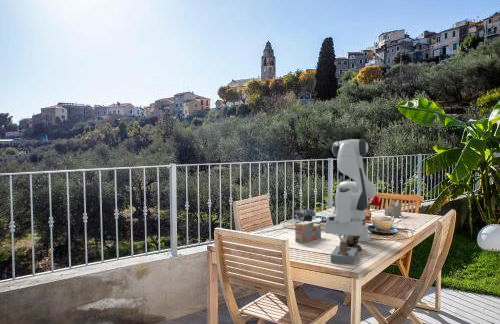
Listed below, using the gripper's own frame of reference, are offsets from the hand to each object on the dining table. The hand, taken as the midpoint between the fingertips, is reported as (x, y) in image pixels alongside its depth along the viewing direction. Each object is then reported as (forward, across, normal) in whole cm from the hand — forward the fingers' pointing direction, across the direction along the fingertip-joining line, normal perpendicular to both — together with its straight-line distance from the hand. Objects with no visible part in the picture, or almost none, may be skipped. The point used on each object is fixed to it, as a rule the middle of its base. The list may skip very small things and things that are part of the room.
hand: (343, 242), depth 218 cm
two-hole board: (+10, 0, -5) cm, 11 cm away
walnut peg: (+10, 0, 0) cm, 10 cm away
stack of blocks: (+10, +29, -40) cm, 51 cm away
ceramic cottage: (+11, -20, -151) cm, 152 cm away
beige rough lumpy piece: (+10, -1, -25) cm, 27 cm away
